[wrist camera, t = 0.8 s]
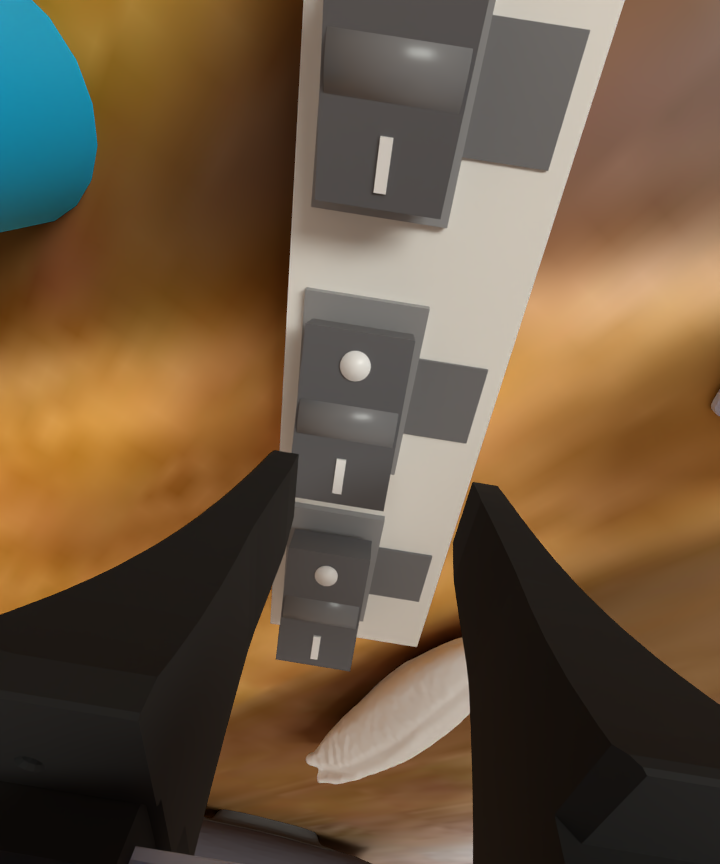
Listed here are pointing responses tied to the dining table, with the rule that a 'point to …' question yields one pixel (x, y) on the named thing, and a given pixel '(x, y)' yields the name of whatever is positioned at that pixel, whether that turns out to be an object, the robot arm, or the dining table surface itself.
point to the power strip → (441, 282)
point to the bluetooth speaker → (263, 842)
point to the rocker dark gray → (349, 411)
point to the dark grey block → (393, 100)
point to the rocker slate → (322, 599)
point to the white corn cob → (397, 717)
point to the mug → (40, 120)
